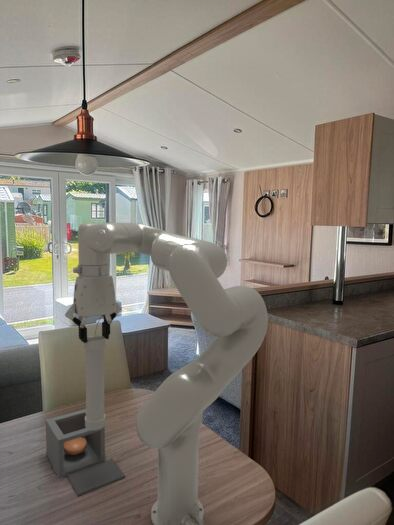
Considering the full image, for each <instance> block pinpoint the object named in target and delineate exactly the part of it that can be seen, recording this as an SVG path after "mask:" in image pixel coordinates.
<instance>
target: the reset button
mask: <svg viewBox="0 0 394 525" xmlns="http://www.w3.org/2000/svg"><path fill="white" fill-rule="evenodd" d="M85 449H86V439H85V438H82V437H79V438H76V439H73V440H70V441H66V442H64V452H65V453H67V454H72V455H77V454H79V453H81V452H83V451H84V450H85Z"/></svg>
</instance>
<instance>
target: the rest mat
mask: <svg viewBox="0 0 394 525" xmlns="http://www.w3.org/2000/svg"><path fill="white" fill-rule="evenodd" d="M66 477H67V478H66V479H68V481H69V483H70V486H72V488H73V491H74V492H75V494H76V495H77V497H80V496H83V495H85V494H87V493H88V494H89V493H90V492H93V491H95V490H98V489H101V488H104V487H105V486H108V485H110V484H113V483H115V482H118V481H119V480H122V479H125V478H126V474H125V473H124V472H123V471H122V470H121V468H120V467H119V465H117V463H116V462H115V461H114V459H113V458H111V459H107V460H105V462H102V463H99V464H96V465H94V466H91V467H88V468H85V469H82V470H80V471H77V472H74V473H71V474H69V475H67V476H66Z"/></svg>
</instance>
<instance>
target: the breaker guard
mask: <svg viewBox="0 0 394 525" xmlns="http://www.w3.org/2000/svg"><path fill="white" fill-rule="evenodd" d="M85 416H86V408H83V409H80V410H77V411H72V412H69V413H66V414H62V415H59V416H53V417H51V418H46V419H45V439H46V440H45V441H46V442H45V444H46V456H47V459H48V461H49V462H50V464H51V466H52V468H53V471H54V472H55V474H56V476H57V478H58V479H60V480H61V479H62V478H65V477H67V475H69V474H71V473H74V472H77V471H80V470H82V469H85V468H88V467H91V466H94V465H96V464H99V463H102V462H105V461H106V455H105V453H106V450H105V449H106V443H105V441H106V436H105V434H106V433H105V429H106V425H105V426H104V427H103V428H101V429H99V430H88V429H86V427H85ZM79 437H82V438H85V439H86V449H85V450H84V451H83V452H81V453H79V454H77V455H72V454H67V453H65V452H64V442H66V441H70V440H73V439H76V438H79Z"/></svg>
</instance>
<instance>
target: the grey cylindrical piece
mask: <svg viewBox="0 0 394 525" xmlns="http://www.w3.org/2000/svg"><path fill="white" fill-rule="evenodd" d="M102 318H103V315H100V317H99V320H98V321H97V322H96V323H97V324H96V327H95V331H94V335H89V336H88V335H87V342H86V343H84V345H83V348H84V350H85V409H86V416H85V427H86V429H88V430H99V429H101V428H103V427H104V426H105V427H106V417H107V414H106V413H105V349H106V347H107V344H106V339H105V337H104V336H102V335H100V334H99V335H97V334H96V332H97V329H98V326H99V323H100V321H101V319H102Z"/></svg>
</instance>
